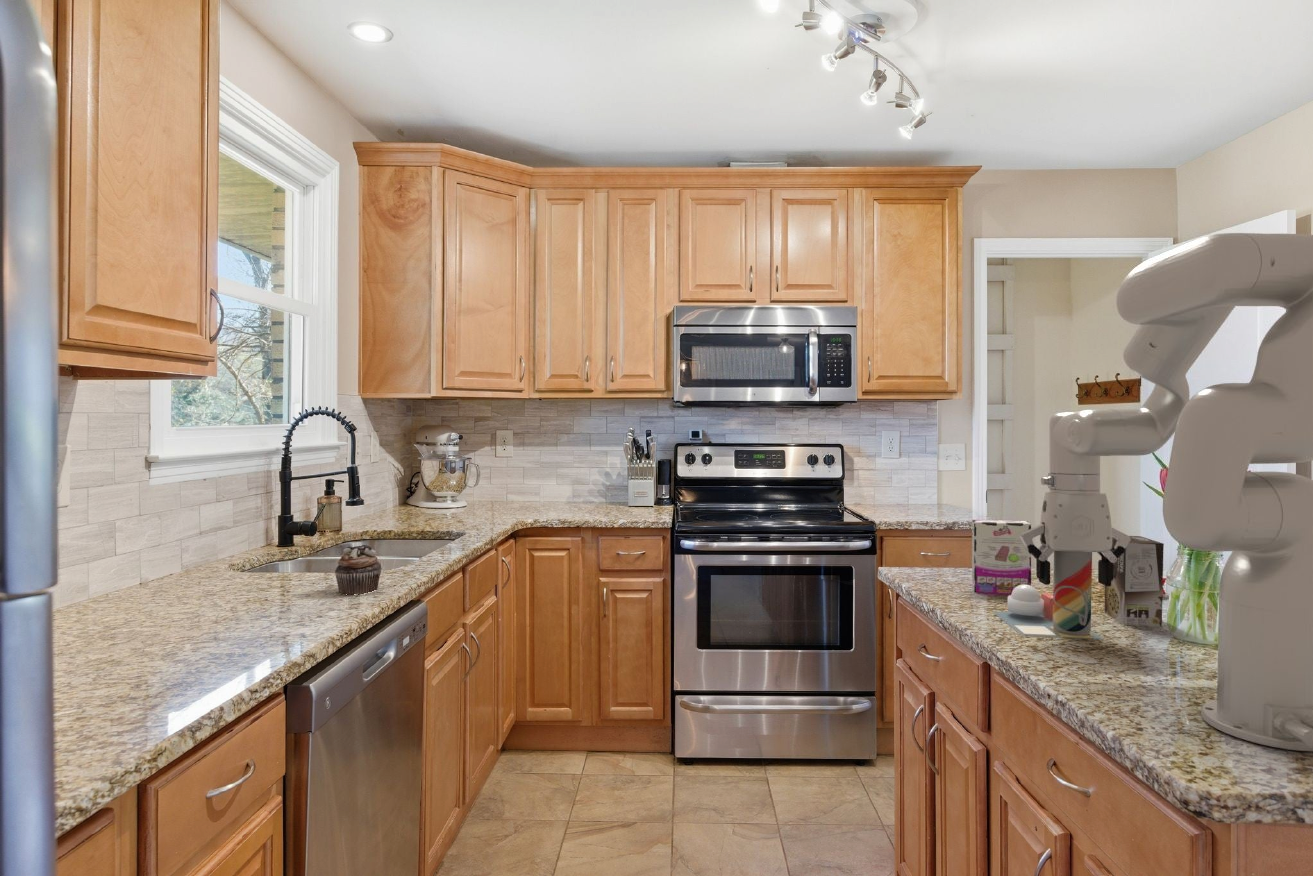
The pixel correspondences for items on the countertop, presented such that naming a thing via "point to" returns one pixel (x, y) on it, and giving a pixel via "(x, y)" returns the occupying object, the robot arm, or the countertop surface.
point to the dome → (1025, 601)
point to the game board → (1036, 622)
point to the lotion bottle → (1072, 592)
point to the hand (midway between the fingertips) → (1074, 583)
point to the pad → (1073, 635)
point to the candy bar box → (999, 556)
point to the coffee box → (1137, 584)
